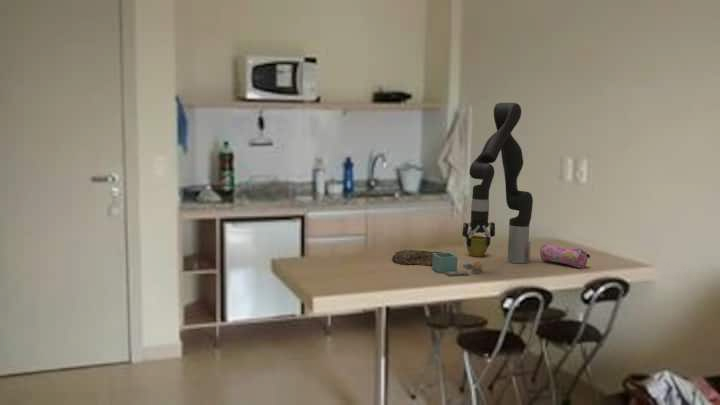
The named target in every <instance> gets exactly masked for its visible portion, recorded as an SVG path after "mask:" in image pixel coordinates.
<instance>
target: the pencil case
mask: <svg viewBox="0 0 720 405" xmlns="http://www.w3.org/2000/svg"><path fill="white" fill-rule="evenodd" d="M539 254H540V259H541V260H542V261H543V262H550V263H560V264H562V265H567V266H570V267H573V268H578V269H580V270H581V269H584V268H585V267H586V265H587V263H588V258H589V259H591V255H590V254H589V253H587V250H586V249H582V248H579V247H578V248H570V247H569V248H568V247H561V246H558V245H555V244H551V243H548V242H546V243H545V244H543V245H542V246H541V247H540V249H539Z"/></svg>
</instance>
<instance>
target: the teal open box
mask: <svg viewBox="0 0 720 405" xmlns="http://www.w3.org/2000/svg"><path fill="white" fill-rule="evenodd" d="M431 270H433V271H434V272H437V274H445V272H450V271H458V255H455V254H453V253H451V252H442V253H433V260H432V268H431Z"/></svg>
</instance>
